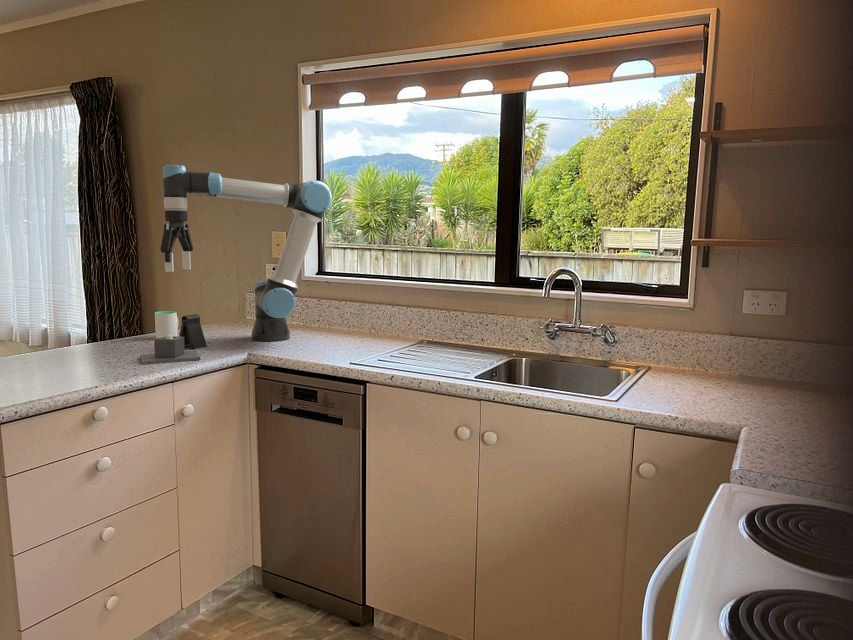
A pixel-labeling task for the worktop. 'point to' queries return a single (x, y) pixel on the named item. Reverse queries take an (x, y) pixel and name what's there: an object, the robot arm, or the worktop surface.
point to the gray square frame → (169, 347)
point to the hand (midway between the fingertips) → (178, 270)
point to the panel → (185, 357)
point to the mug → (166, 323)
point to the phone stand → (192, 332)
